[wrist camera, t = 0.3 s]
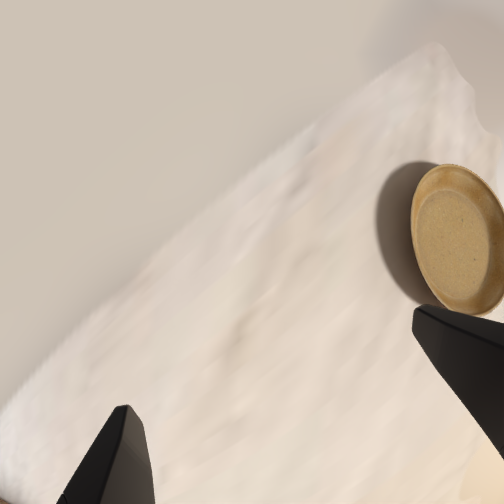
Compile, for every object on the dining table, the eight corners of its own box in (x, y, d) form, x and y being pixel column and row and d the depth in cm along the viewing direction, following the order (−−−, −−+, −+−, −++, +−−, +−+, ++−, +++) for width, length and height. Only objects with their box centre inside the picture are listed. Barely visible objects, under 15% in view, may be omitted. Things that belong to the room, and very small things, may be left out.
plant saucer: (395, 156, 28) (408, 143, 25) (494, 194, 28) (508, 187, 26) (389, 311, 25) (405, 310, 22) (496, 323, 25) (513, 322, 23)
